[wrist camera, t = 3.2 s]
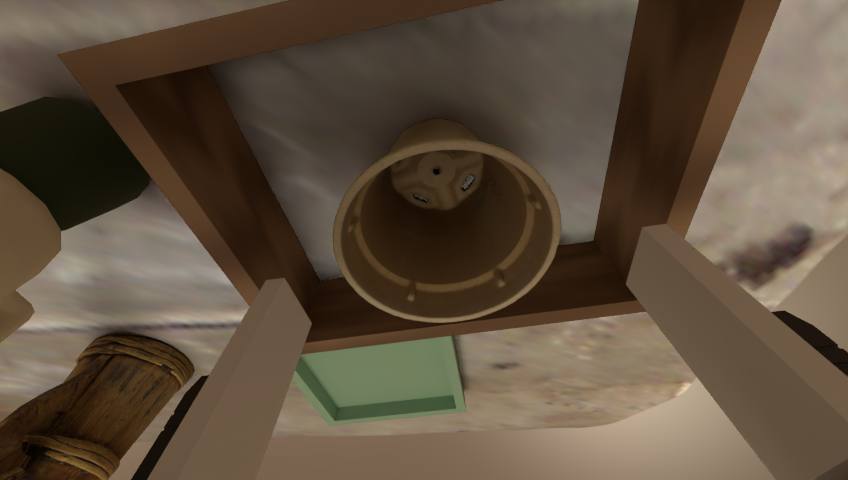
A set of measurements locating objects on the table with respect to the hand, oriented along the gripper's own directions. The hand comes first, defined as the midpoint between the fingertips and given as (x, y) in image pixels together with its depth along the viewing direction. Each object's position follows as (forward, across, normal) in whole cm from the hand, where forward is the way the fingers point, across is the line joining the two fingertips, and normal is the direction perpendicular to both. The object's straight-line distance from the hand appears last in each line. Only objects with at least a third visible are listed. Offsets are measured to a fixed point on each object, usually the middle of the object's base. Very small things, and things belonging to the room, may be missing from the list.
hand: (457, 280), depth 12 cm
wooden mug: (+10, -32, -13) cm, 36 cm away
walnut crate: (+10, 0, 0) cm, 10 cm away
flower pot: (+10, 0, 0) cm, 10 cm away
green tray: (+10, -9, -20) cm, 24 cm away
